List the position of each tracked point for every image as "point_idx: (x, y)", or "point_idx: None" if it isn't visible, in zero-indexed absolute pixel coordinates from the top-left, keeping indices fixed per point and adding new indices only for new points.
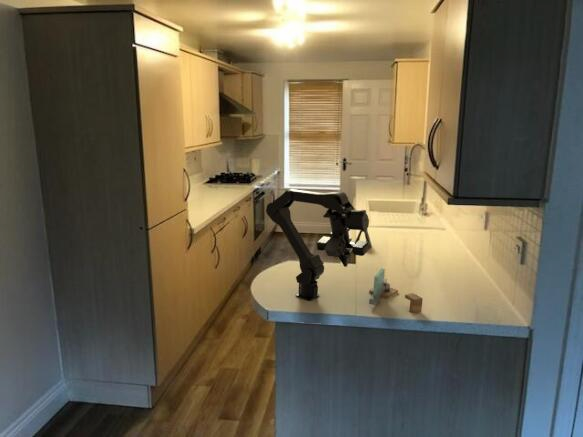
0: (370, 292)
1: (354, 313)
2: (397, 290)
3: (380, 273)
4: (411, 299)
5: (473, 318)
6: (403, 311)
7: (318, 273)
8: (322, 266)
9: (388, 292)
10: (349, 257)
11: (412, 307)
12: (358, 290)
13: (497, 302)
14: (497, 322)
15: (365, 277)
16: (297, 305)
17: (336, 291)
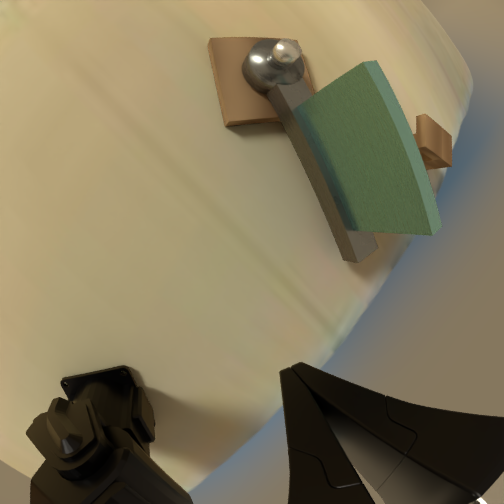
0: (233, 124)
1: (331, 337)
2: (298, 44)
3: (420, 156)
4: (440, 161)
5: (455, 98)
6: None
7: (178, 489)
8: (136, 479)
9: None
10: (381, 401)
11: (426, 167)
12: (168, 142)
13: (416, 2)
14: (467, 91)
15: (90, 17)
16: (172, 462)
17: (113, 252)
